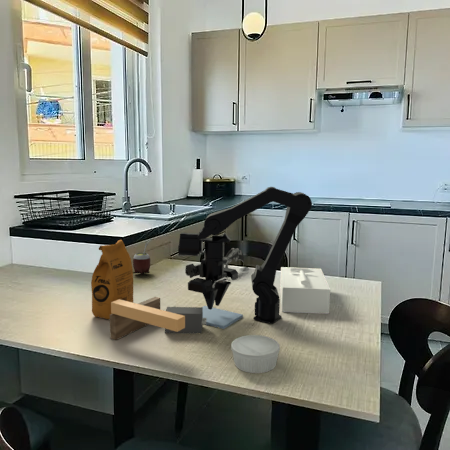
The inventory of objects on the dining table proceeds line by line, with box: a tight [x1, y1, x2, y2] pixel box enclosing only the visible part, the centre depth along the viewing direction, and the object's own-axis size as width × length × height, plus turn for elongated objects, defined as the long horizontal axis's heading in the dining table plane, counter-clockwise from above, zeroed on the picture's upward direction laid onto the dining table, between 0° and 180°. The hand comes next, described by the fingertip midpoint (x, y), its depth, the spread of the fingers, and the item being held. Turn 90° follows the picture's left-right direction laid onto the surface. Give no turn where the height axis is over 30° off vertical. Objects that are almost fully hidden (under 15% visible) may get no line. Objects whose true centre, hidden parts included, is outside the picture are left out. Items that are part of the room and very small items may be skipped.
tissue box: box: [279, 266, 331, 315], centre depth 145 cm, size 14×25×11 cm, turn 174°
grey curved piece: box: [224, 247, 245, 268], centre depth 183 cm, size 28×2×10 cm, turn 159°
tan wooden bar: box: [111, 299, 185, 332], centre depth 108 cm, size 22×3×3 cm, turn 58°
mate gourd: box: [132, 239, 152, 276], centre depth 176 cm, size 8×8×15 cm
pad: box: [202, 305, 244, 330], centre depth 128 cm, size 14×11×1 cm
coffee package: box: [90, 239, 134, 321], centre depth 130 cm, size 10×12×22 cm
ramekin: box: [230, 334, 281, 374], centre depth 100 cm, size 11×11×5 cm
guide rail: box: [109, 296, 161, 341], centre depth 120 cm, size 2×18×6 cm, turn 148°
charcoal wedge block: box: [164, 306, 207, 334], centre depth 119 cm, size 11×5×6 cm, turn 89°
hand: (213, 307), depth 128 cm, fingers open, 4 cm apart
